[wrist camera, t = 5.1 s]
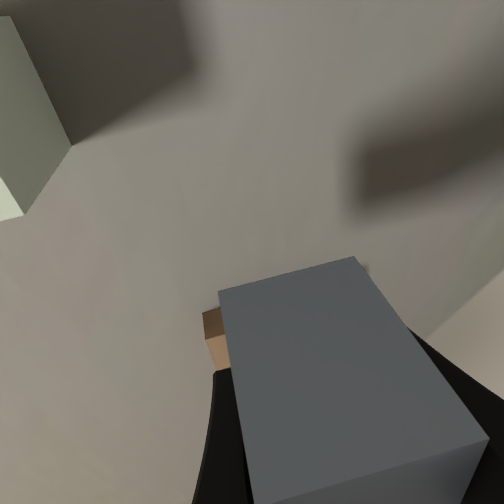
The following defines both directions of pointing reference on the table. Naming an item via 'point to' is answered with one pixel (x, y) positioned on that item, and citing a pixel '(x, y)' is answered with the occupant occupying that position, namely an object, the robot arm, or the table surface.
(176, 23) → the table surface
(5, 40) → the sage block
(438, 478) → the slate block
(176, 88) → the table surface
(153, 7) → the table surface
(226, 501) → the robot arm
